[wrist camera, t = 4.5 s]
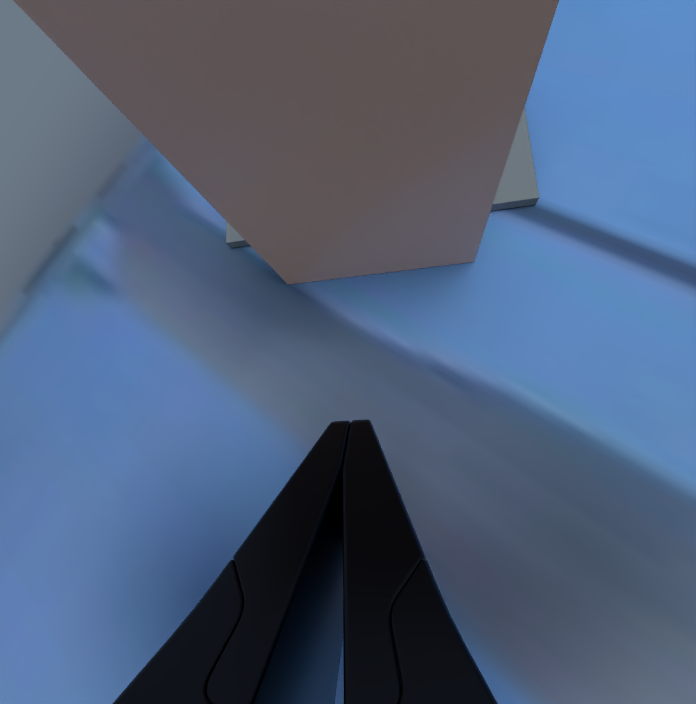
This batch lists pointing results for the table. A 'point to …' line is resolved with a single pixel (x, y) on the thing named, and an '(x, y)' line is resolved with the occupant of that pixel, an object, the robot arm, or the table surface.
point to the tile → (322, 115)
